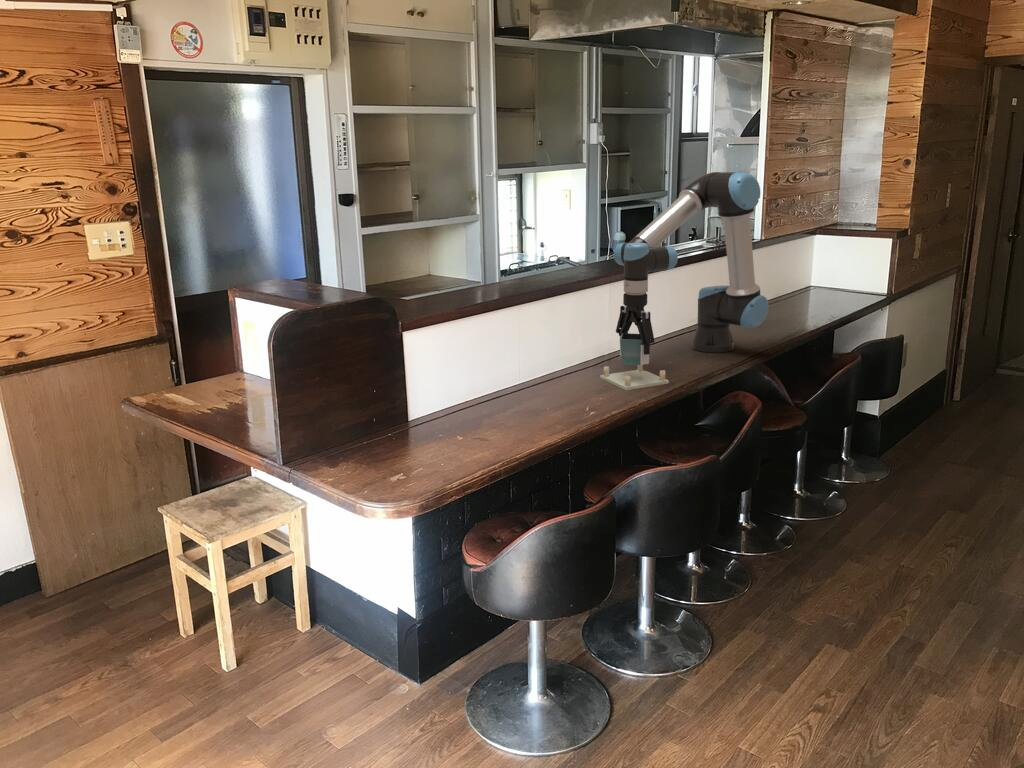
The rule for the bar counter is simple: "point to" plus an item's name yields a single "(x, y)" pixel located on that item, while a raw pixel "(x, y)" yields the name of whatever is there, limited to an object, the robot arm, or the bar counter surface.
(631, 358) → the flower pot
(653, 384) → the pot stand
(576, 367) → the bar counter surface
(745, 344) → the bar counter surface
